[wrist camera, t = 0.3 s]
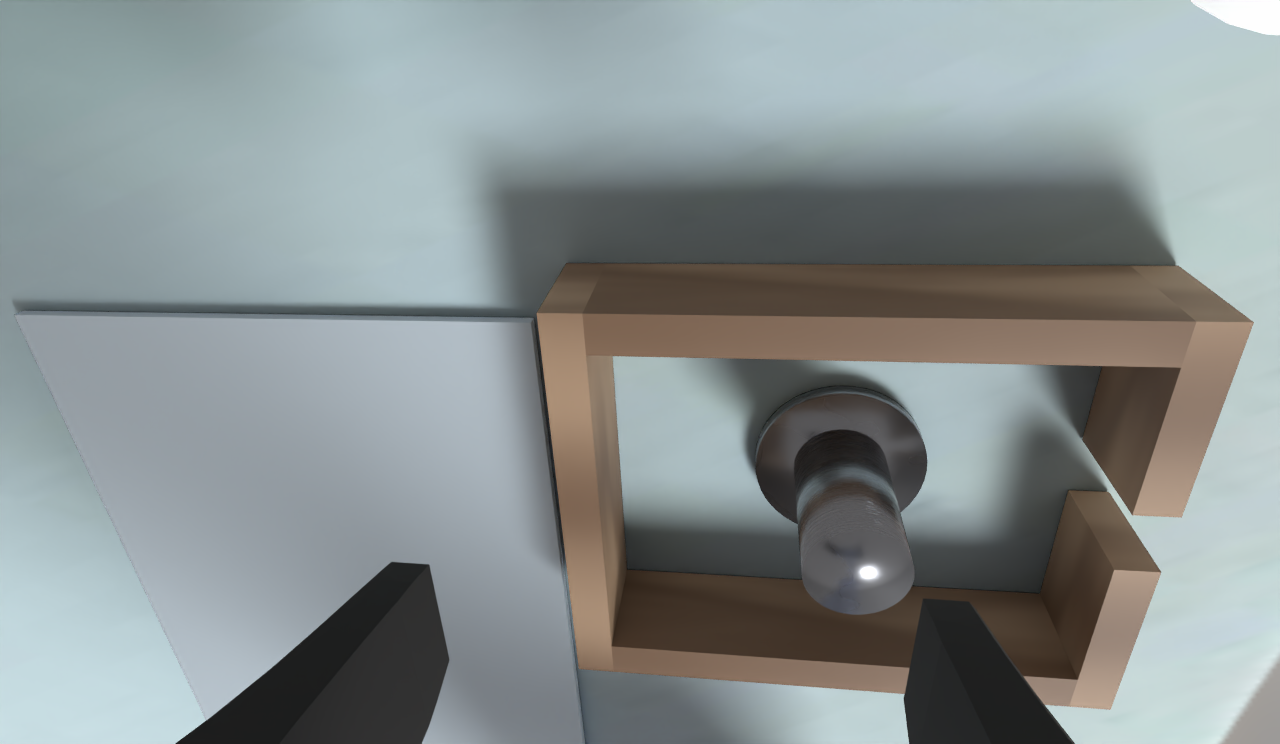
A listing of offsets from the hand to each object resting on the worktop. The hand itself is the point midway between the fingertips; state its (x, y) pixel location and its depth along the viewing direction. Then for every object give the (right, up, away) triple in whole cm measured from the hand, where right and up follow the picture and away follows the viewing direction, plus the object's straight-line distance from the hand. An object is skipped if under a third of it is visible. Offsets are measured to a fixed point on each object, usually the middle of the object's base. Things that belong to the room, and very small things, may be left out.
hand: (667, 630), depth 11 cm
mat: (-10, -2, +14) cm, 17 cm away
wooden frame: (+5, +2, +9) cm, 11 cm away
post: (+5, +2, +9) cm, 11 cm away
